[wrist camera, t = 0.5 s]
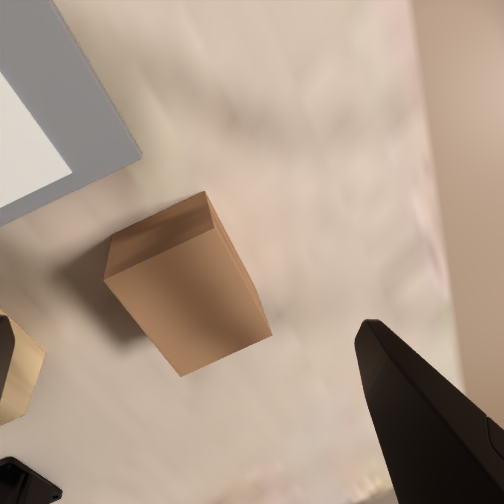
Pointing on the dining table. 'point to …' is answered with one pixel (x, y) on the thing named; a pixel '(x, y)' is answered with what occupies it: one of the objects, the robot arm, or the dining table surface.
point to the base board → (51, 112)
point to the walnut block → (186, 285)
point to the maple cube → (20, 375)
